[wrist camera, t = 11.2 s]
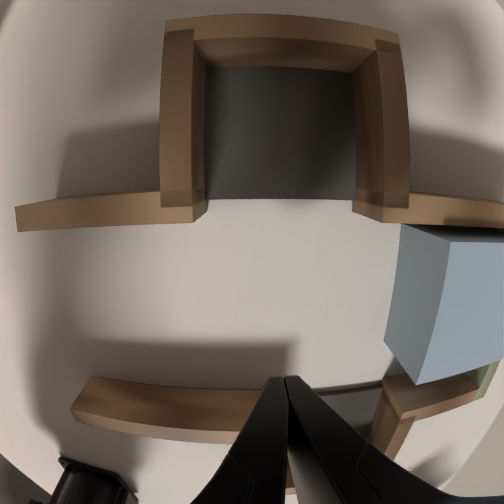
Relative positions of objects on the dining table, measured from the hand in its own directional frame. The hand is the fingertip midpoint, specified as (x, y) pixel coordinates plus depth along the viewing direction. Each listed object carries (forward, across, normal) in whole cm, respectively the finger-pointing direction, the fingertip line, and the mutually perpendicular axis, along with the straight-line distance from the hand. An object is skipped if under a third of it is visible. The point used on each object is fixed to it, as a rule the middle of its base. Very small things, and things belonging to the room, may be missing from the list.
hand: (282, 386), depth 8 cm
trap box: (+5, -2, 0) cm, 6 cm away
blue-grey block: (+5, -9, -1) cm, 10 cm away
